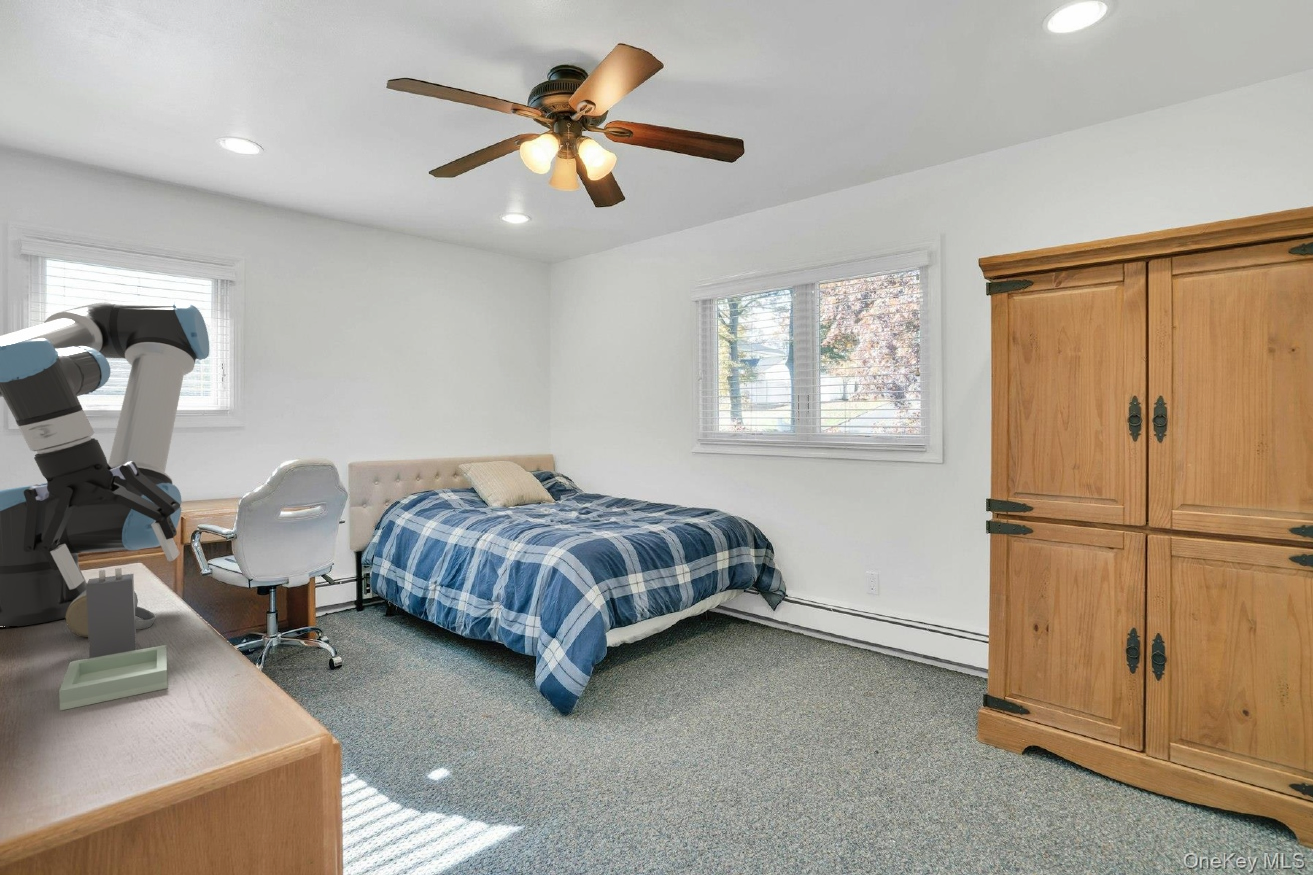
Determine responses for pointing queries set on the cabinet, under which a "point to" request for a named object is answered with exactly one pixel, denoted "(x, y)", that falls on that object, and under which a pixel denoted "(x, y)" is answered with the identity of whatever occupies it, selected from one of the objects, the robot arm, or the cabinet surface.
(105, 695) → the shallow pale green tray
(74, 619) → the ceramic mug
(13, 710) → the cabinet surface
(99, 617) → the charger brick
